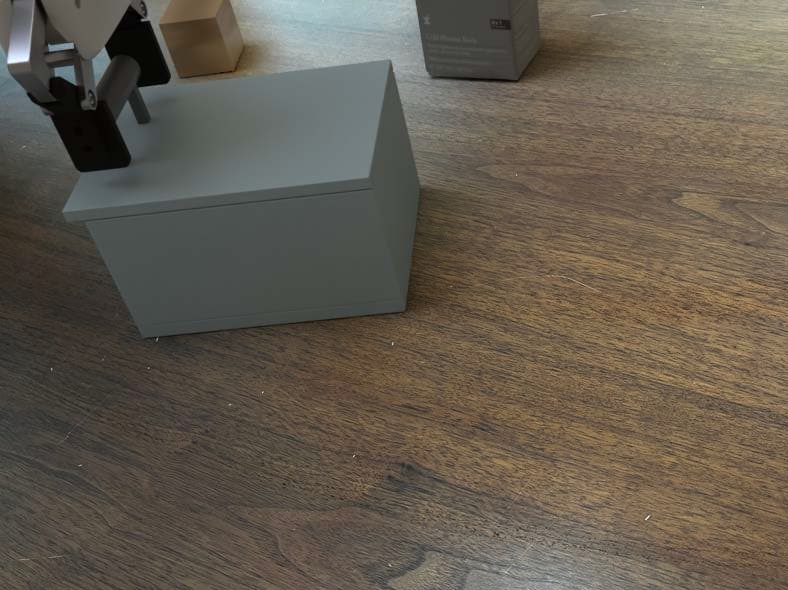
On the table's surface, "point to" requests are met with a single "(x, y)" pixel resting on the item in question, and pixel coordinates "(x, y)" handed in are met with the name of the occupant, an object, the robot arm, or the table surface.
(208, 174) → the lid
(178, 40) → the block
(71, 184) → the table surface
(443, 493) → the table surface
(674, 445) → the table surface
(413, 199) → the compartment
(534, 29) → the cosmetic box
